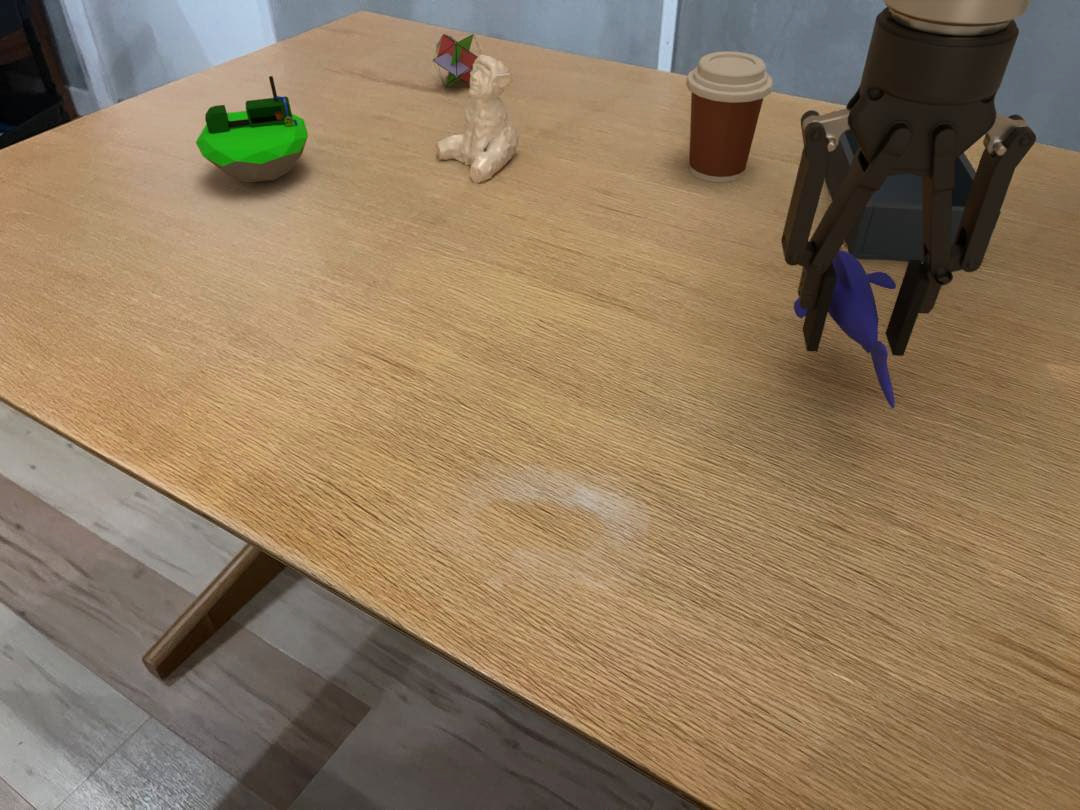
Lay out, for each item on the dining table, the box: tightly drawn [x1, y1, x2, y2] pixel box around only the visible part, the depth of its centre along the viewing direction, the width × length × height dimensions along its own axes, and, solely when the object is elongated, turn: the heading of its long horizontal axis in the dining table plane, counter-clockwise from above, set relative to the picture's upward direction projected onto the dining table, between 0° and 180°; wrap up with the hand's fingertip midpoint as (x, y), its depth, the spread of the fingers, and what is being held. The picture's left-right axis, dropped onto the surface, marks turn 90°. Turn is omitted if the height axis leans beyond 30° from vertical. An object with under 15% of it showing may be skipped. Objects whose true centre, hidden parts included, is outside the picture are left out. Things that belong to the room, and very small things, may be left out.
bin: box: [825, 130, 1002, 262], centre depth 85 cm, size 12×20×6 cm, turn 174°
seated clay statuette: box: [435, 53, 520, 184], centre depth 93 cm, size 10×9×12 cm
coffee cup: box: [685, 50, 774, 183], centre depth 90 cm, size 9×9×12 cm
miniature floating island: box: [195, 75, 309, 183], centre depth 91 cm, size 12×12×11 cm
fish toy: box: [793, 249, 897, 409], centre depth 59 cm, size 15×8×7 cm, turn 1°
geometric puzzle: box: [431, 33, 483, 89], centre depth 112 cm, size 7×7×8 cm
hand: (851, 341), depth 61 cm, fingers closed on fish toy, 5 cm apart
